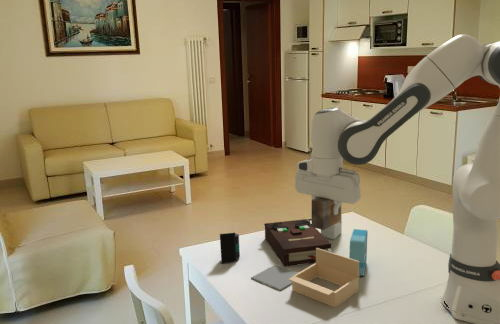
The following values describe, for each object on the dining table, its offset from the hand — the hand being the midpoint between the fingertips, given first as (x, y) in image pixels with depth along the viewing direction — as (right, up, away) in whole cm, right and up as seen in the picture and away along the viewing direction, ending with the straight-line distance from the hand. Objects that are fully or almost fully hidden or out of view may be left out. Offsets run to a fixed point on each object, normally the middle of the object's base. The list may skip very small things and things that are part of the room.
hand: (326, 212), depth 133 cm
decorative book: (-5, -18, +36) cm, 40 cm away
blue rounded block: (+14, -21, +19) cm, 31 cm away
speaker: (-29, -20, +29) cm, 46 cm away
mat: (-13, -23, +14) cm, 30 cm away
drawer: (0, -24, +5) cm, 25 cm away
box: (0, -4, +1) cm, 4 cm away
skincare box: (+10, -14, +48) cm, 51 cm away
